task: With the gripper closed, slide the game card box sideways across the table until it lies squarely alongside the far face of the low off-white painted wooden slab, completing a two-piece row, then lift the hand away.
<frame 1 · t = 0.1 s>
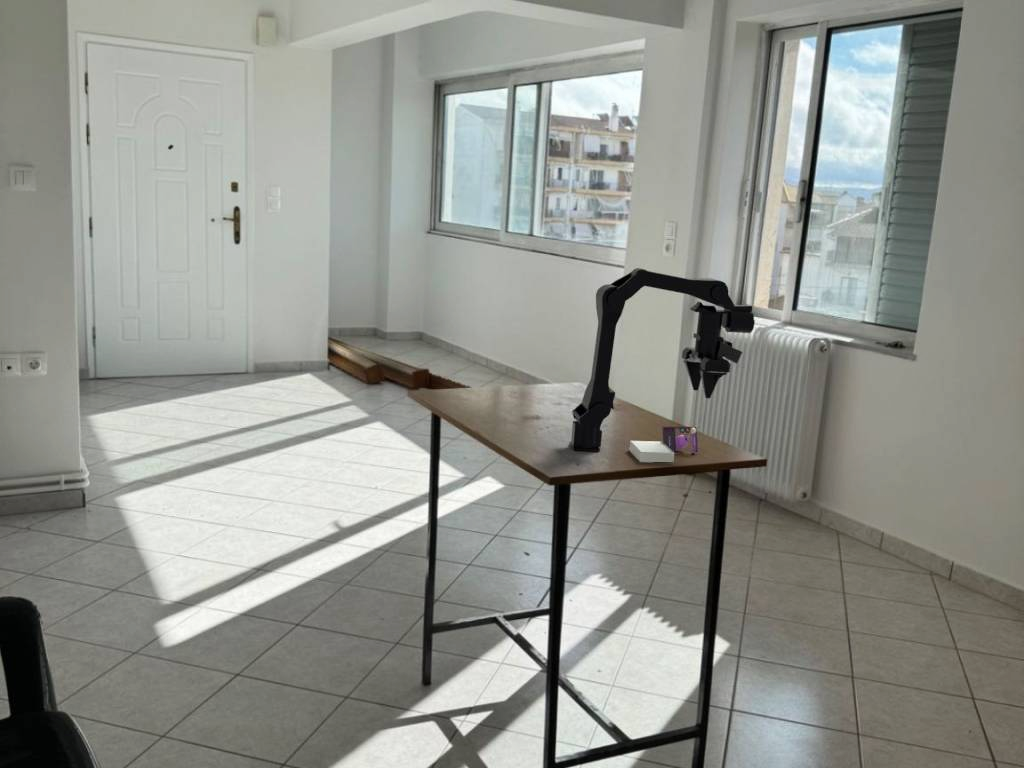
hand: (701, 394, 231), 15 cm above the table, tool pointing down, fingers open, 9 cm apart
slab: (650, 456, 226), on the table
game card: (676, 452, 233), on the table
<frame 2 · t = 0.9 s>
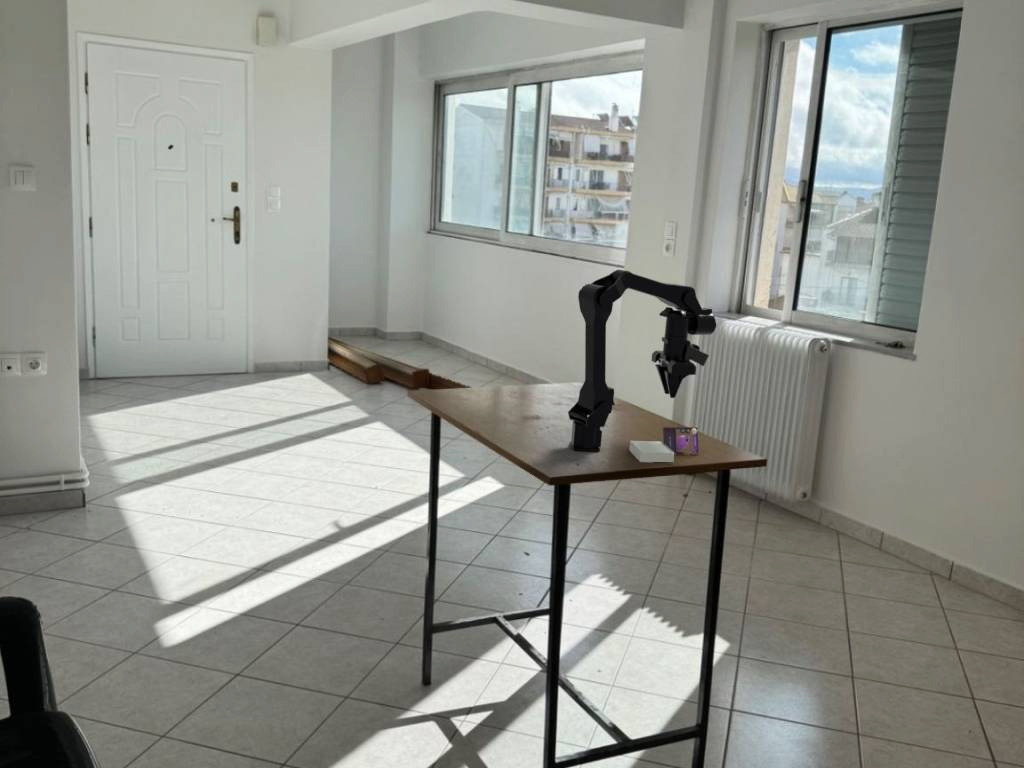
hand: (669, 395, 240), 12 cm above the table, tool pointing down, fingers open, 4 cm apart
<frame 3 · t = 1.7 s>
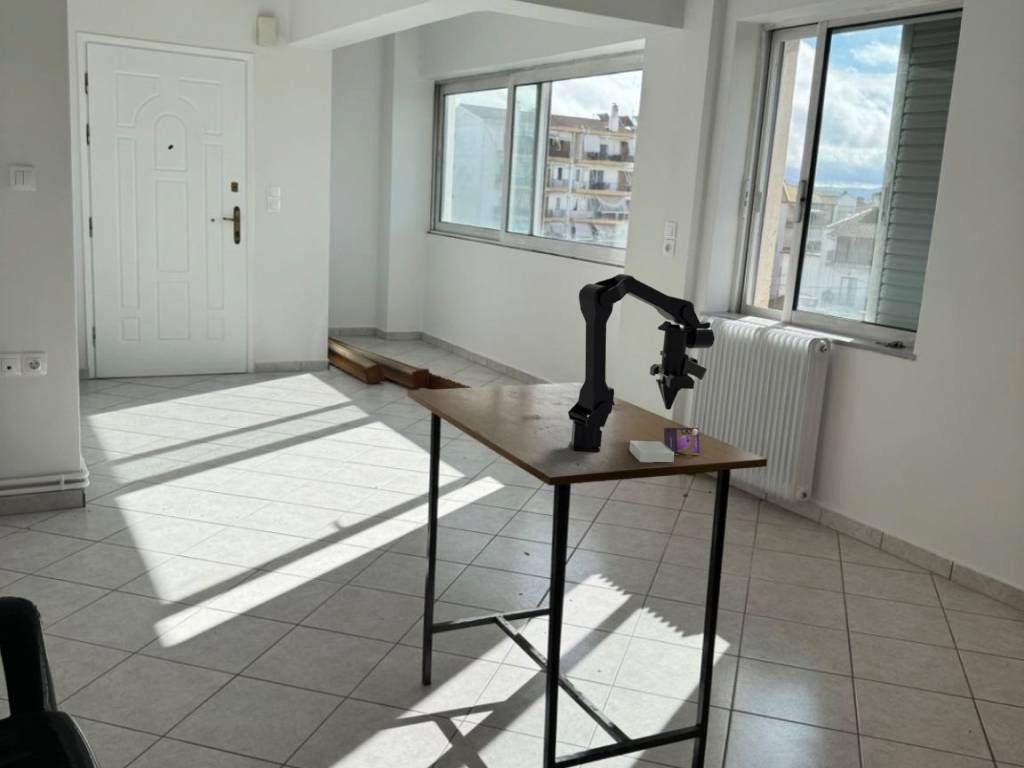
hand: (668, 409, 240), 8 cm above the table, tool pointing down, fingers closed
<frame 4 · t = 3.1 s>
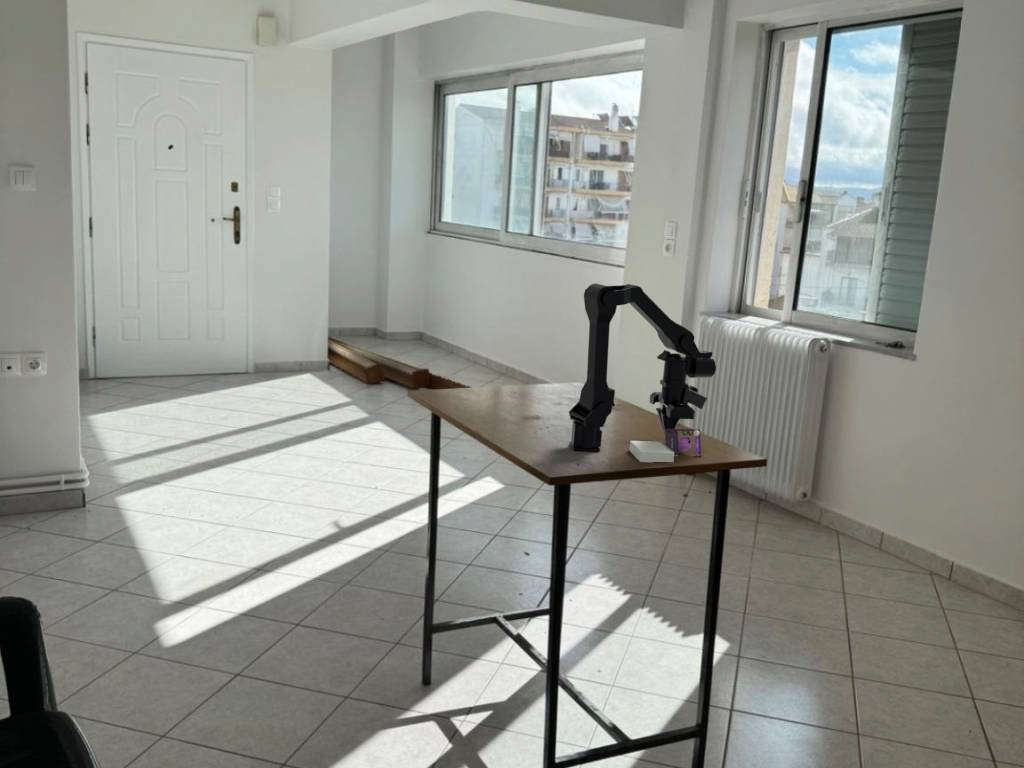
hand: (668, 438, 239), 1 cm above the table, tool pointing down, fingers closed
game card: (679, 455, 231), on the table, touching slab
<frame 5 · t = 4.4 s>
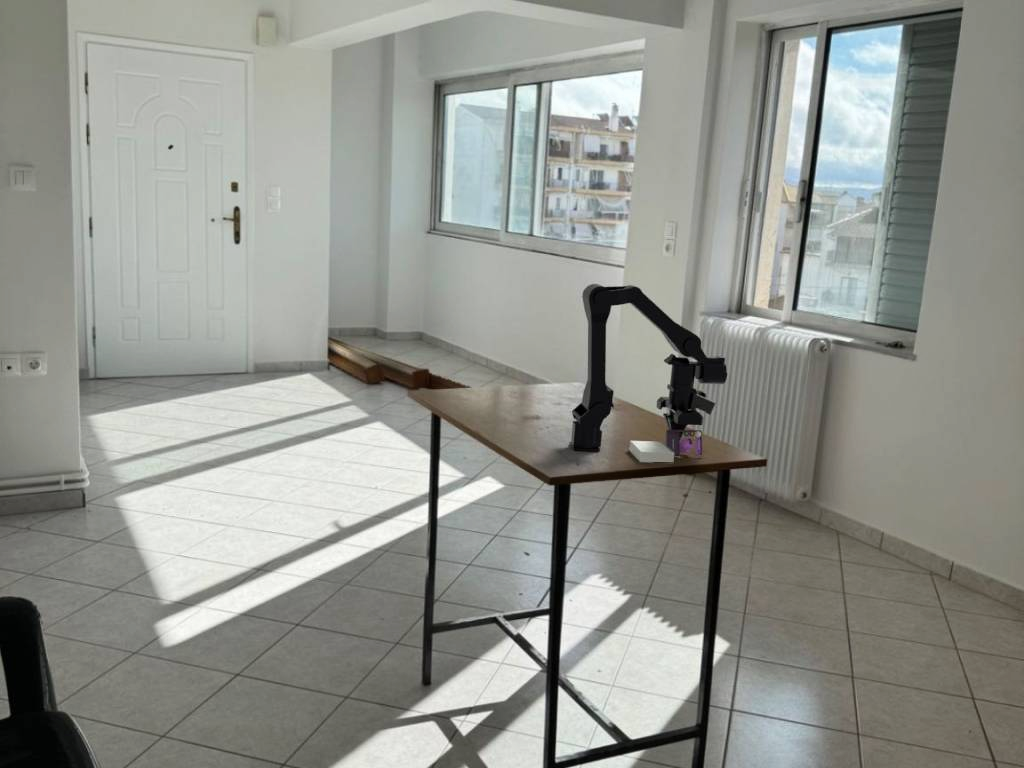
hand: (675, 444, 233), 1 cm above the table, tool pointing down, fingers closed
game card: (681, 456, 230), on the table
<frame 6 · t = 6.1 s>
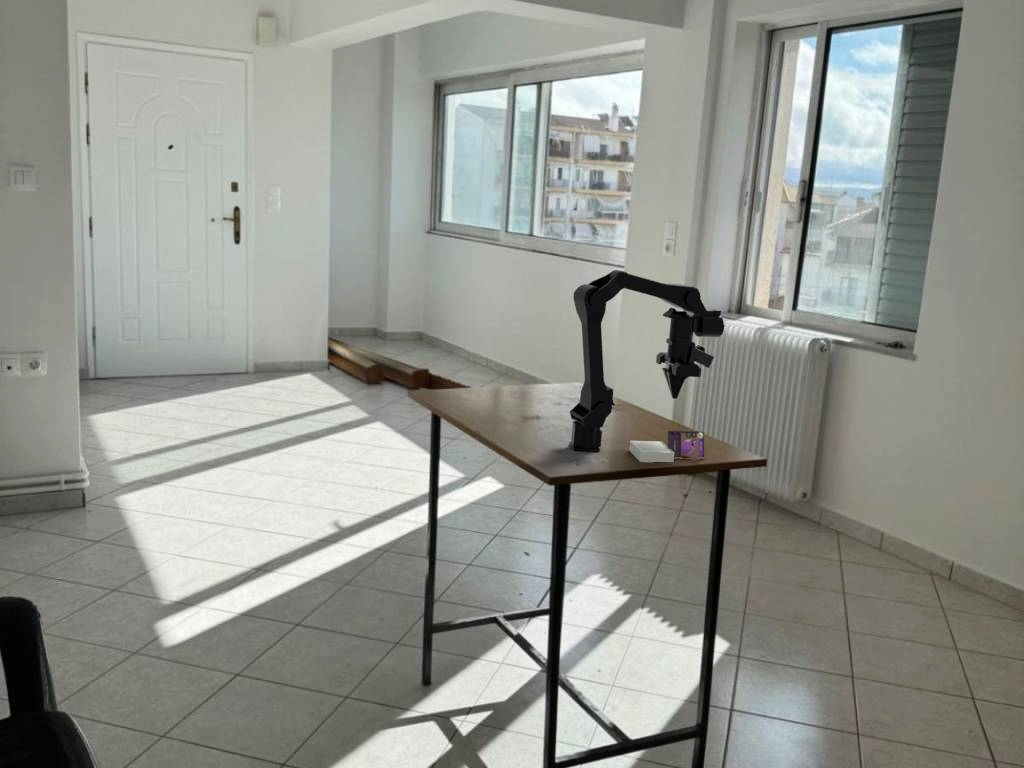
hand: (674, 398, 235), 12 cm above the table, tool pointing down, fingers closed
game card: (683, 457, 229), on the table
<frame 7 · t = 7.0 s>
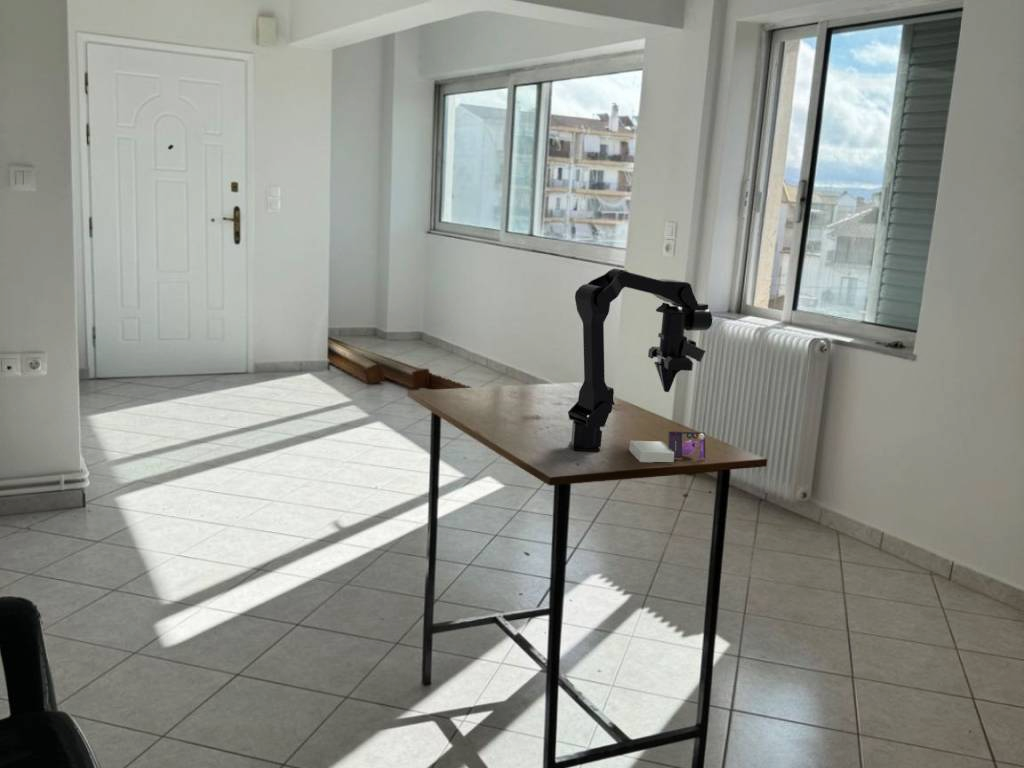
hand: (666, 391, 239), 13 cm above the table, tool pointing down, fingers closed
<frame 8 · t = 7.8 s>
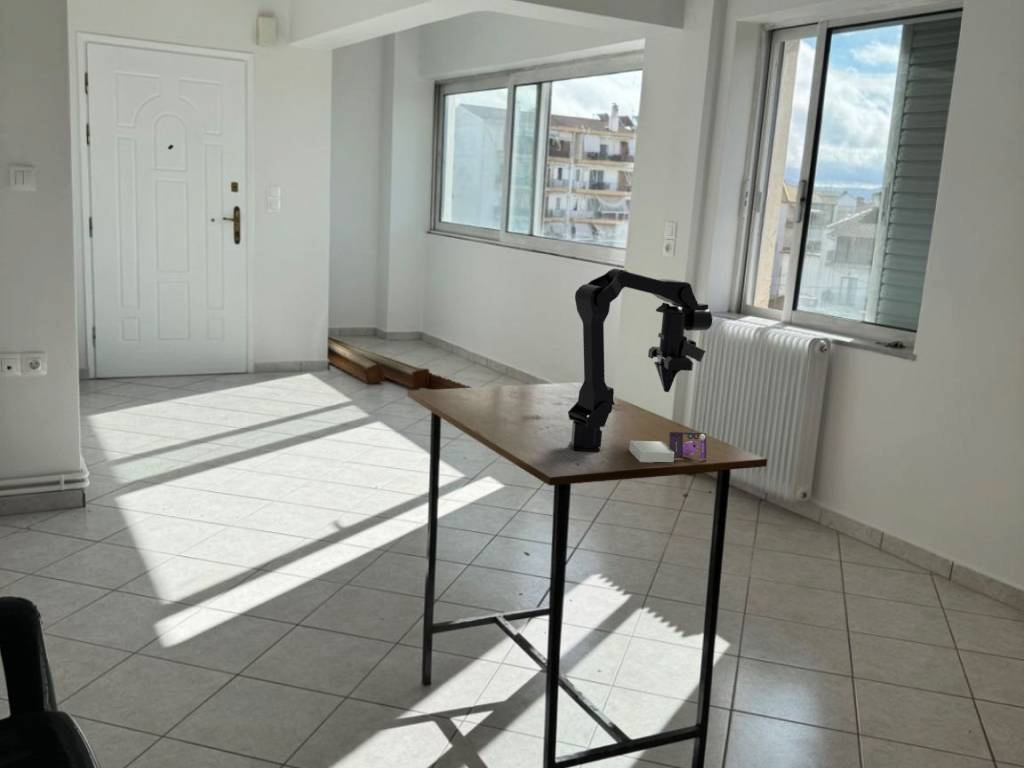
hand: (666, 391, 239), 13 cm above the table, tool pointing down, fingers closed
at the end: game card inside the target area on the table beside the slab (1.6 cm from its centre), on the table; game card moved 6.0 cm from its start; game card tilted 0° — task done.
